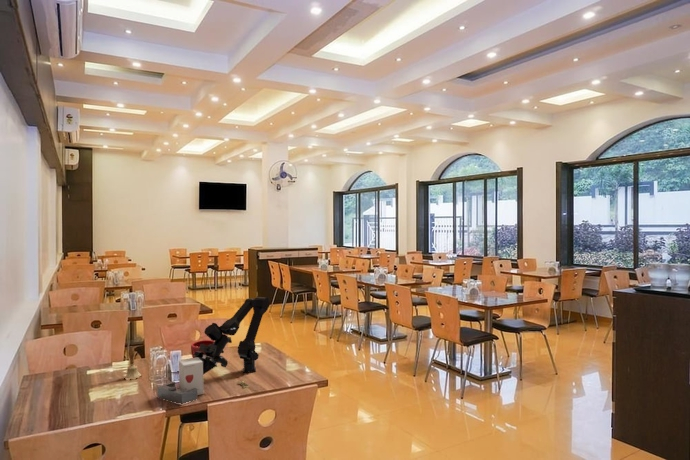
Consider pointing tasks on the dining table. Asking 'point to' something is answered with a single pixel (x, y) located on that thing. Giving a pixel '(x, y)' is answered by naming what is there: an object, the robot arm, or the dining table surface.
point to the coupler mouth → (176, 393)
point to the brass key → (243, 384)
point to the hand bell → (132, 366)
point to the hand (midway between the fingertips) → (200, 375)
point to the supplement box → (191, 375)
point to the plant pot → (194, 348)
